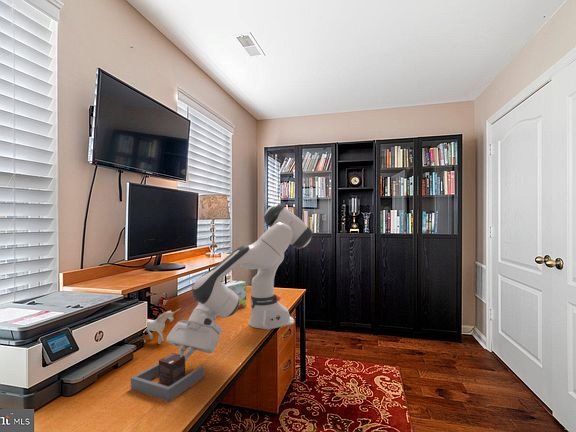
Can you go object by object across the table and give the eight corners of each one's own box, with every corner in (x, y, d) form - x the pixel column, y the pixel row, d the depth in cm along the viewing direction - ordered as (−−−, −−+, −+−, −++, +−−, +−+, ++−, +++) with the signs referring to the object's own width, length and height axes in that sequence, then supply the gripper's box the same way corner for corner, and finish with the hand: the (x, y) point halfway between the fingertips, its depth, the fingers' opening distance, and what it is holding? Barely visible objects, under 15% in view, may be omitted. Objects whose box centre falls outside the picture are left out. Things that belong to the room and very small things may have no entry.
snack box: (219, 315, 169) (218, 288, 169) (212, 314, 172) (212, 287, 172) (247, 306, 186) (246, 281, 186) (240, 304, 189) (240, 280, 189)
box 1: (173, 373, 106) (172, 352, 106) (186, 377, 104) (185, 355, 103) (158, 382, 101) (158, 360, 101) (172, 386, 98) (171, 363, 98)
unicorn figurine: (177, 344, 132) (176, 312, 132) (130, 346, 130) (129, 314, 130) (182, 337, 139) (181, 307, 139) (137, 339, 138) (137, 309, 138)
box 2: (168, 367, 111) (168, 357, 111) (204, 376, 104) (204, 366, 104) (130, 389, 97) (130, 377, 97) (168, 401, 90) (168, 389, 90)
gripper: (175, 315, 117) (154, 351, 108) (217, 322, 108) (198, 362, 99) (184, 323, 121) (164, 358, 112) (226, 330, 112) (208, 370, 103)
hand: (180, 360), depth 105 cm, fingers closed, pressing on box 1
